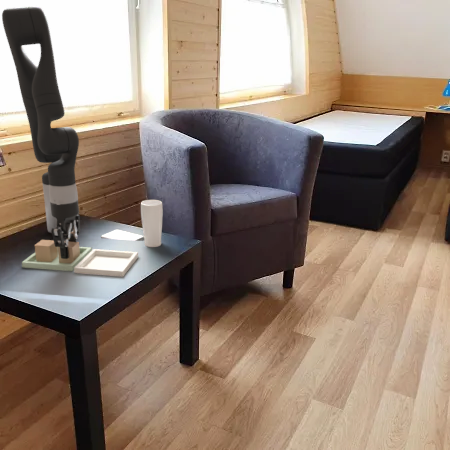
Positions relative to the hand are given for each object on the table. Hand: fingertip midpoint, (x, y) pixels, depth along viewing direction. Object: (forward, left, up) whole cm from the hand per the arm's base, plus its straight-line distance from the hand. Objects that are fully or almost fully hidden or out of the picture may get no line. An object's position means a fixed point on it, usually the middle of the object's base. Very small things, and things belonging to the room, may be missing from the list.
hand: (69, 254), depth 139 cm
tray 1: (0, -3, -3) cm, 5 cm away
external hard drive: (-23, +9, -4) cm, 24 cm away
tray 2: (+1, +12, -3) cm, 12 cm away
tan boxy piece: (0, -7, -2) cm, 7 cm away
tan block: (0, 0, -2) cm, 2 cm away
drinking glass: (-17, +21, -3) cm, 27 cm away
